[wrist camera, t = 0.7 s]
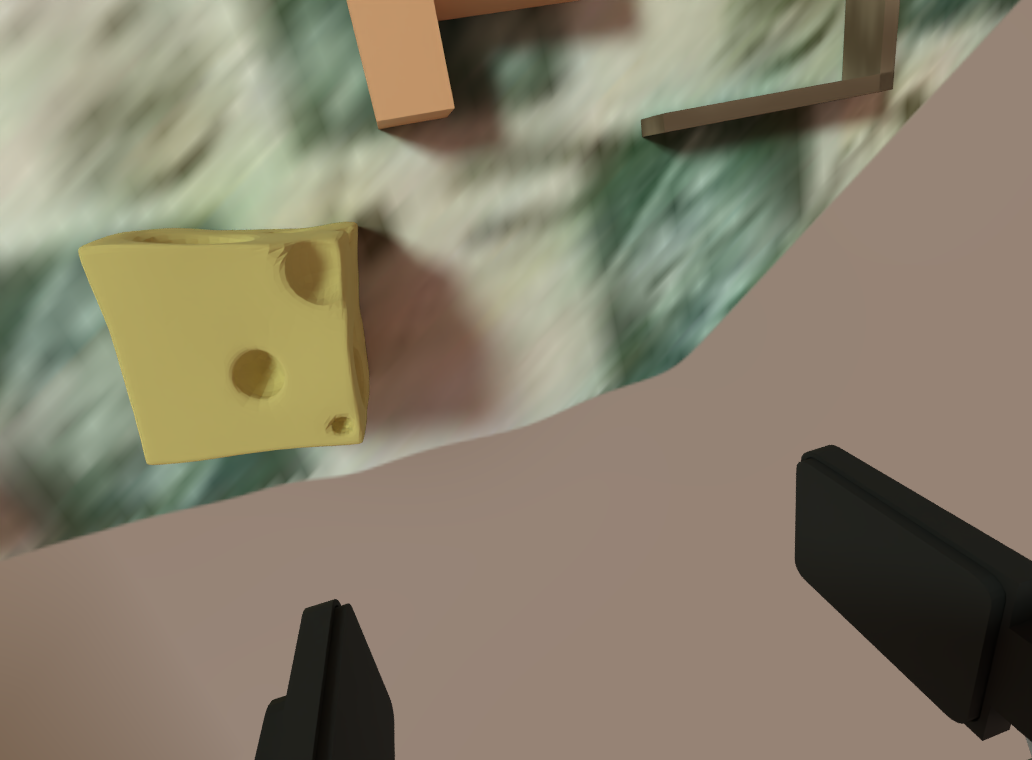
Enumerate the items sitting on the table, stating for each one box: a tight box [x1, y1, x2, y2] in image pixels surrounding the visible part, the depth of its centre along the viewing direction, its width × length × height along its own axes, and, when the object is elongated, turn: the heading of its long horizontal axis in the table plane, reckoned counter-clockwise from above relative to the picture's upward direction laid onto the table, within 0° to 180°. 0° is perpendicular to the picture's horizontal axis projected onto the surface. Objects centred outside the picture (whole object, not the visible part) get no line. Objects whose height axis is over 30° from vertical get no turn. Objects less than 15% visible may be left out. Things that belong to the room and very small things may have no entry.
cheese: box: [78, 222, 369, 465], centre depth 28 cm, size 10×11×10 cm
